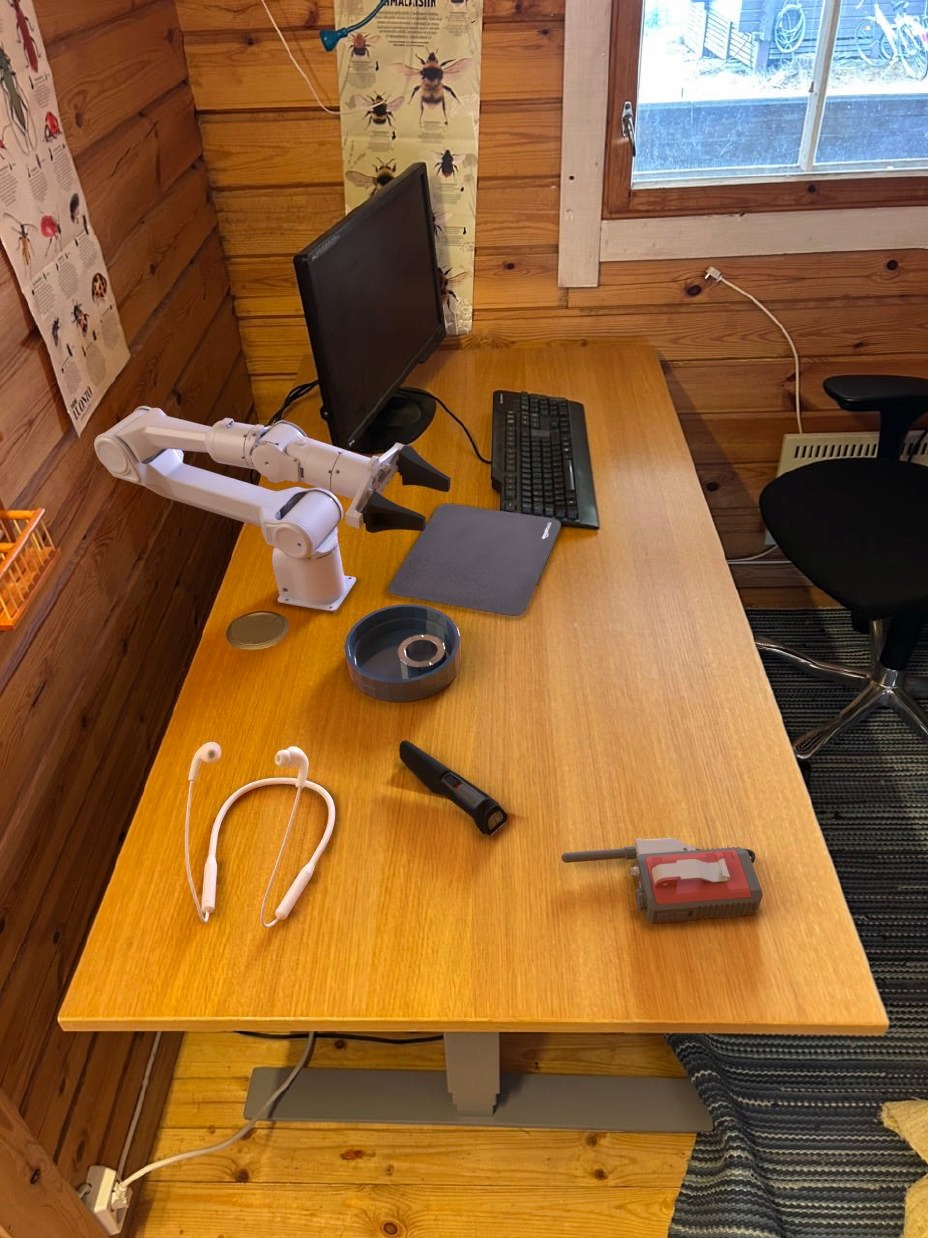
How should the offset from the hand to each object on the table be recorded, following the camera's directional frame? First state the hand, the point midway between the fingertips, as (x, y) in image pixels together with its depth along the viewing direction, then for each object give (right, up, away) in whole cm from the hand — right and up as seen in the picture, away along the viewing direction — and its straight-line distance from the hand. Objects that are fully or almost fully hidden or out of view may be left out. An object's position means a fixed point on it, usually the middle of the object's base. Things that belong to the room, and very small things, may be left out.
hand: (437, 504), depth 109 cm
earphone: (-18, -40, -14) cm, 46 cm away
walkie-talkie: (+24, -42, -19) cm, 52 cm away
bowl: (-5, -20, +7) cm, 22 cm away
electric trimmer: (+2, -35, -9) cm, 36 cm away
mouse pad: (+6, -5, +24) cm, 25 cm away
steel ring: (-2, -21, +6) cm, 22 cm away
